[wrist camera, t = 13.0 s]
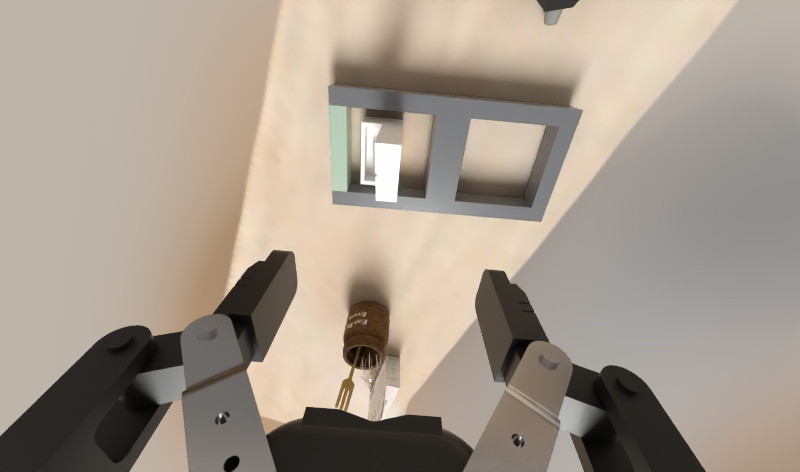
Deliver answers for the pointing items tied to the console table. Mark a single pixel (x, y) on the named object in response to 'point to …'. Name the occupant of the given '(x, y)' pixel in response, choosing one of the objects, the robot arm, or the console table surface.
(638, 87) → the console table surface
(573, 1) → the gun
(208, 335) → the robot arm
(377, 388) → the ink cartridge box
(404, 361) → the console table surface
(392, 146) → the white wedge bracket
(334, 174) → the port panel
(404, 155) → the console table surface
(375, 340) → the utensil holder
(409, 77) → the console table surface
